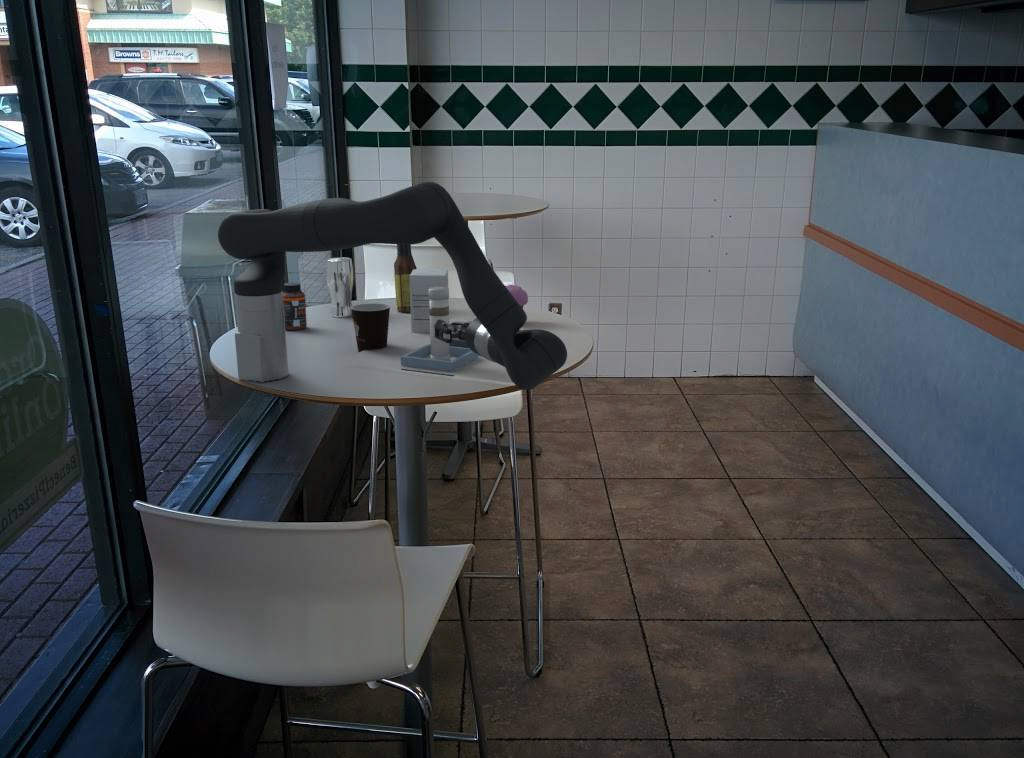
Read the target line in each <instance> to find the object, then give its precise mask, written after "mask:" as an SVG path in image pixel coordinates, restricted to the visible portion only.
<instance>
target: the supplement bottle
mask: <svg viewBox="0 0 1024 758" xmlns="http://www.w3.org/2000/svg"><path fill="white" fill-rule="evenodd" d="M301 286H302V285H301V283H300V282H286V283H283V290H284V291H283V303H284V318H285V331H301V329H302V330H305V329H306V328H307V325H308V324H307V310H306V309H307V307H306V305H307V304H306V294H305V292H304V291H302V288H301ZM304 328H305V329H304Z"/></svg>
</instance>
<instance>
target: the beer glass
mask: <svg viewBox="0 0 1024 758" xmlns="http://www.w3.org/2000/svg"><path fill="white" fill-rule="evenodd" d="M325 261H326V265H325V266H326V268H325V270H326V272H325V273H326V284H327V288H328V293H329V296H330V303H331V306H330V317H332V318H338V317H342V318H349V316H350V317H352V312H351V307H352V306H353V305H352V296H353V295H352V294H353V287H354V269H353V268H354V267H353V261H352V258H350V257H339V256H338V257H330V258H327V259H326V260H325Z"/></svg>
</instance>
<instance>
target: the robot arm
mask: <svg viewBox="0 0 1024 758" xmlns="http://www.w3.org/2000/svg"><path fill="white" fill-rule="evenodd" d="M433 238H434V239H435V240H436V241H437V242H438V243H439V244H440V246H441V247H443V249H444V250H445V252H446V253H447V254H448V255H449V257H450V259H451V261H452V263H453V265H454V267H455V270H456V274H457V278H458V281H459V285H460V288H461V293H462V295H463V297H464V300H465V302H466V304H467V306H468V308H469V309H470V310H471V312H472V313H473V315H474V316H475V318H474V319H473V320H471V321H459V320H458V321H453V322H449V323H447V322H445V321H443V320H437V322H436V324H435V325H434V327H435V335H434V337H435V338H437V339H439V340H441V341H443V342H446V343H452V339H453V340H459V341H465V342H466V344H467V345H468V347H469V348H470V349H471V350H472V351H473V352H474V353H476V354H478V356H480V357H482V358H484V359H486V360H487V361H489V362H492V363H495V364H498V365H500V366H502V367H503V368H505V371H506V372H507V375H508V377H509V379H510V381H511V382H512V383H513V385H515V386H516V387H518V388H519V389H522V390H526V391H531V390H534V389H535V388H536V387H538V386H539V385H541V384H542V383H543V382H545V381H546V380H547V379H549V377H551V376H552V375H553V374H555V373H556V372H558V371H559V370H560V369H561V368H563V366H564V365H565V363H566V361H567V358H568V350H567V347H566V344H565V343H564V341H563V340H562V339H561V338H560V337H559V336H558V335H556V334H554V333H553V332H551V331H548V330H545V329H540V328H539V329H536V328H535V329H532V328H531V329H521V328H523V326H524V325H525V324H526V322H527V321H528V315H527V313H526V312H525V310H524V307H523V308H522V307H521V306H520V305H519V304H518V302H517V301H516V299H515V298H514V297H513V295H512V294H511V293H510V292H509V290H508V289H507V288H506V286H507V285H505V283H503V281H502V280H501V279H500V277H499V275H498V274H497V273H496V271H495V270H494V269H493V267H492V265H491V264H490V262H489V261H488V259H487V257H486V255H485V254H484V252H483V251H482V248H481V247H480V245H479V244H478V241H477V239H476V238H475V236H474V234H473V232H472V231H471V229H470V227H469V225H468V223H467V222H466V220H465V218H464V217H463V214H462V213H461V211H460V209H459V207H458V206H457V204H456V202H455V201H454V198H453V197H452V196H451V194H450V193H449V192H448V191H447V190H446V188H444V187H443V186H442V185H440V184H439V183H436V182H434V181H425V182H421V183H418V184H414V185H412V186H409V187H408V186H407V187H405V188H402V189H399V190H397V191H395V192H392V193H390V194H387V195H384V196H380V197H377V198H374V199H370V200H363V201H357V200H353V199H349V198H345V197H331V198H330V197H329V198H324V199H322V198H321V199H315V200H311V201H308V202H307V201H306V202H302V203H298V204H294V205H291V206H287V207H283V208H279V209H276V210H271V209H269V208H268V209H267V208H260V209H259V208H258V209H250V210H249V209H248V210H247V209H246V210H239V211H235V212H231V213H230V214H227V215H226V216H225V217H224V218H223V219H222V221H221V222H220V225H219V227H218V230H217V239H218V242H219V245H220V246H221V248H222V249H223V250H224V252H225V253H226V254H227V255H229V256H230V257H232V258H235V259H237V260H246V261H247V260H250V261H249V263H248V267H247V268H246V269H245V270H244V271H243V272H242V273H241V274H240V275H238V276H237V277H235V278H234V280H233V291H234V302H235V312H236V313H235V314H236V316H235V317H236V324H237V325H236V326H237V332H235V334H234V341H235V342H234V343H235V352H236V365H237V378H238V380H242V381H248V380H254V381H253V382H256V381H260V382H259V383H265V381H266V382H269V381H270V380H271V381H277V380H281V379H283V378H286V377H287V376H288V375H289V363H288V362H289V361H288V349H287V347H288V345H287V333H286V330H285V318H284V303H283V292H284V291H283V290H284V288H283V285H284V279H285V275H286V253H287V252H288V253H315V252H318V253H320V252H321V253H324V252H330V251H333V252H334V251H341V250H346V249H348V250H349V249H351V248H352V249H353V248H357V247H362V246H366V245H372V244H373V245H374V244H379V245H380V244H381V245H383V244H384V245H397V244H403V245H411V246H412V245H417V244H422V243H424V242H426V241H428V240H431V239H433ZM459 326H460V327H459ZM448 327H449V328H448ZM243 379H244V380H243ZM276 379H277V380H276ZM271 381H270V382H271Z"/></svg>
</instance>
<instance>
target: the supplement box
mask: <svg viewBox="0 0 1024 758" xmlns="http://www.w3.org/2000/svg"><path fill="white" fill-rule="evenodd" d="M431 287H447V288H449V270H448V269H427V268H426V269H425V268H424V269H421V268H417V269H415V270H413V271H412V273H411V274H410V305H411V312H410V330H411V331H410V332H411V333H418V334H419V333H430V315H429V291H428V289H429V288H431Z"/></svg>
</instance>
